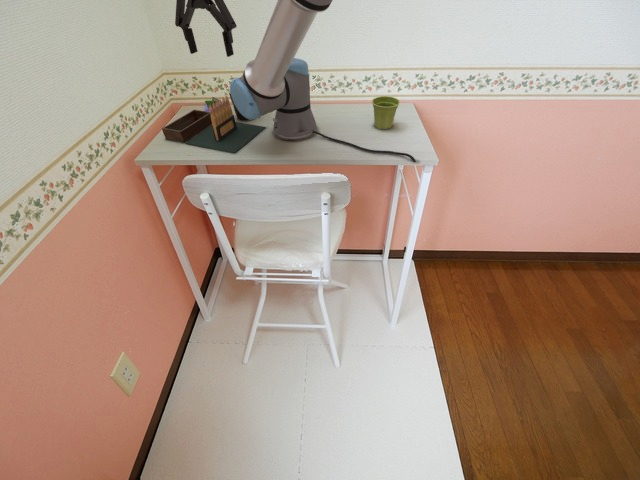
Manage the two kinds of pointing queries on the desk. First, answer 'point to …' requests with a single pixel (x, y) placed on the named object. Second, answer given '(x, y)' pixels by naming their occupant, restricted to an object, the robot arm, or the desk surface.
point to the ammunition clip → (222, 119)
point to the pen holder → (187, 126)
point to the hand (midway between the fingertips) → (212, 54)
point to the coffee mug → (238, 114)
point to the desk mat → (227, 138)
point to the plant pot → (384, 111)
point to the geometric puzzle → (210, 104)
